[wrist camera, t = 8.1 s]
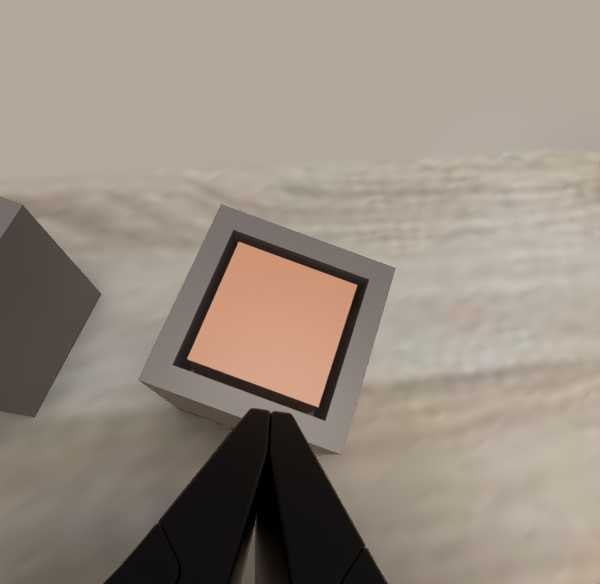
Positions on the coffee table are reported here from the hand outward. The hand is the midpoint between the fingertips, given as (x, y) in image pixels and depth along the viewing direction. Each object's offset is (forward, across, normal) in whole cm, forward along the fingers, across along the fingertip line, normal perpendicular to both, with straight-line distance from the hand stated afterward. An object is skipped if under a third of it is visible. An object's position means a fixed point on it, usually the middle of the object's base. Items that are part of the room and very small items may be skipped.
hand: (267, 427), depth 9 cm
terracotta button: (+7, 0, +2) cm, 7 cm away
